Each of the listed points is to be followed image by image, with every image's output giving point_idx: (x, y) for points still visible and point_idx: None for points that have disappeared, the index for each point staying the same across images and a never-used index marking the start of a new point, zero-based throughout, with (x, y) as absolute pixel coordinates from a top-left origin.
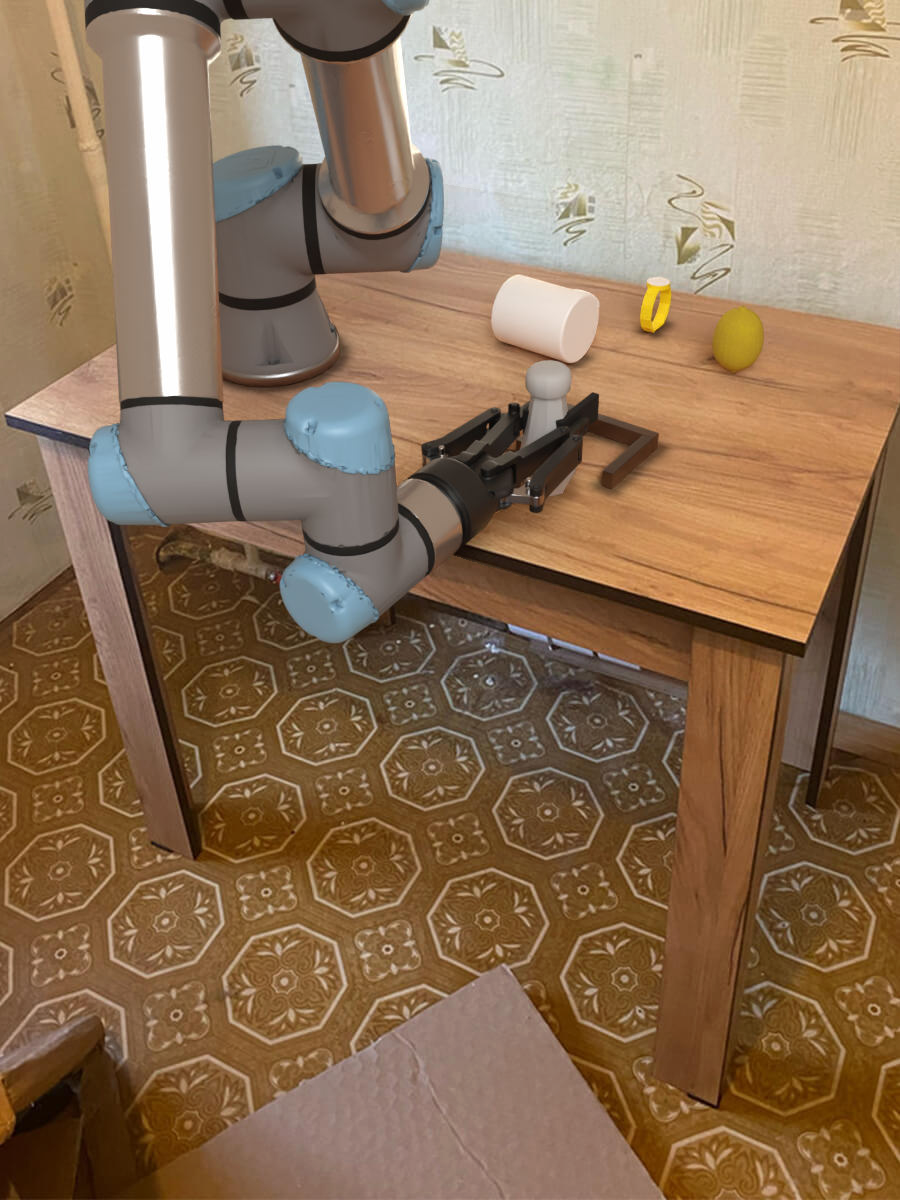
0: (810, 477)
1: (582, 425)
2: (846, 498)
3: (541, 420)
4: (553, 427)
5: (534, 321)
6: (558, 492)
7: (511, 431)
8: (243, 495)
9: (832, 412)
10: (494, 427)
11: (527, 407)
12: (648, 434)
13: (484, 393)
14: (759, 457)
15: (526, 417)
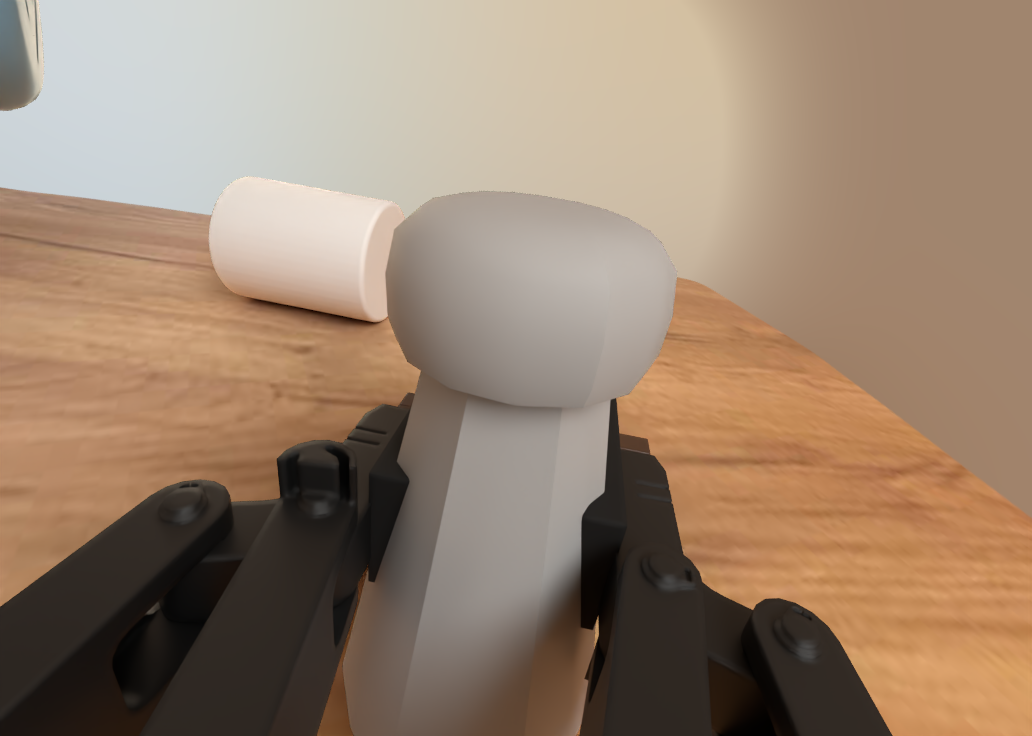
0: (918, 484)
1: (670, 502)
2: (1026, 522)
3: (510, 532)
4: (569, 552)
5: (302, 244)
6: None
7: (322, 641)
8: None
9: (775, 365)
10: (170, 710)
11: (388, 453)
12: (633, 446)
13: (200, 389)
14: (804, 456)
15: (392, 508)
